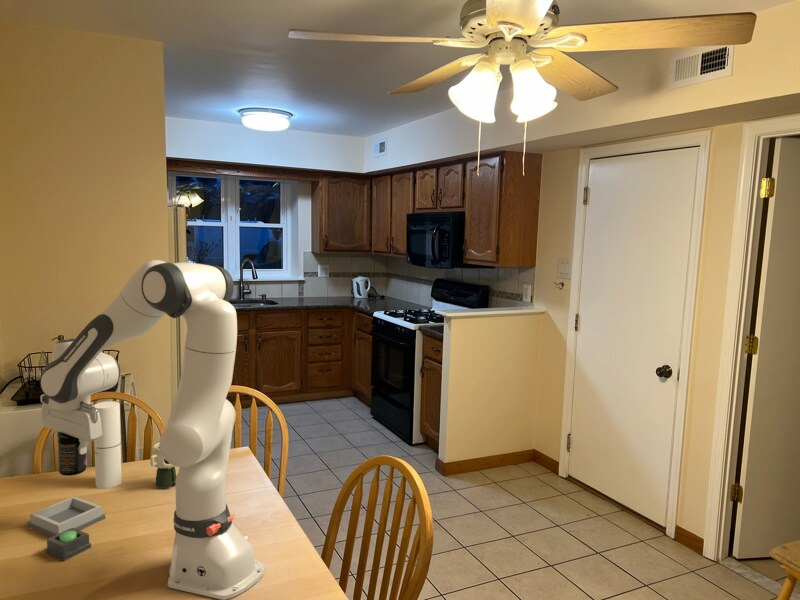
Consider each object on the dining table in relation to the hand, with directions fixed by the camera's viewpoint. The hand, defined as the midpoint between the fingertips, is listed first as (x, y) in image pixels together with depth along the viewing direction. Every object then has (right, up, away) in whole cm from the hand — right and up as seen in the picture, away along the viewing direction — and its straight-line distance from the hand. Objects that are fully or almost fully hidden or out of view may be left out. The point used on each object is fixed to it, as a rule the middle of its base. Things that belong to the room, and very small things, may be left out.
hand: (72, 449), depth 151 cm
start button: (+6, -20, -11) cm, 24 cm away
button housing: (+6, -22, -11) cm, 25 cm away
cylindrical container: (-3, -17, +26) cm, 31 cm away
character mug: (+14, -18, +26) cm, 34 cm away
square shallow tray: (-2, -20, +2) cm, 20 cm away
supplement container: (0, -6, +1) cm, 6 cm away
